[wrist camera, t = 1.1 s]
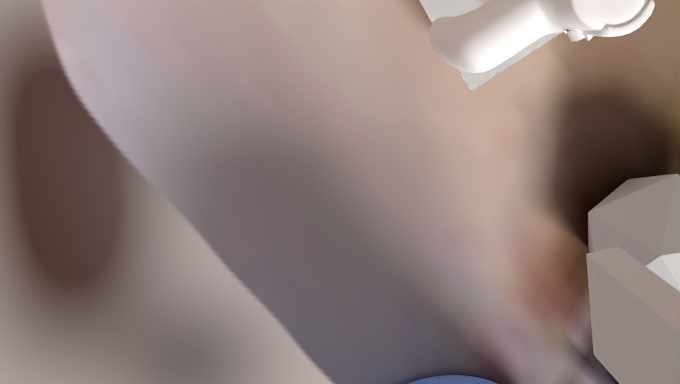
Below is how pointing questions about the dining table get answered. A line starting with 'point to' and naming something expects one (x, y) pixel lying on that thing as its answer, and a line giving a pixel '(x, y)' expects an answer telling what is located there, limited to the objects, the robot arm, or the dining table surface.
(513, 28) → the figurine
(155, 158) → the dining table surface
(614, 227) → the die
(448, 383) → the water jug
